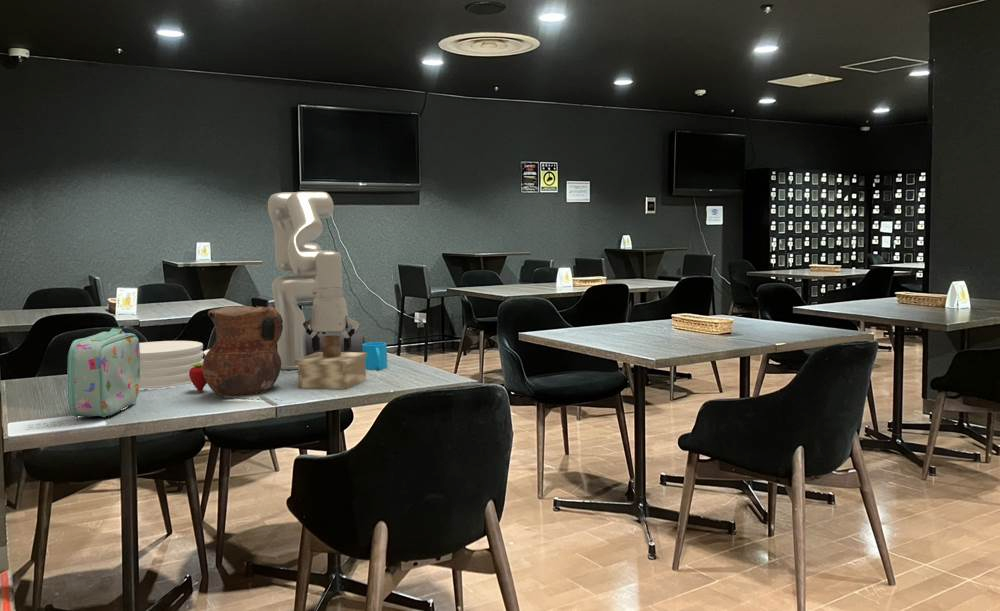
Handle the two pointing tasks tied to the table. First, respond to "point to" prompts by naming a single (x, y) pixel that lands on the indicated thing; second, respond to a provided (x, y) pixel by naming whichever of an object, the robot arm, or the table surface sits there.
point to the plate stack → (168, 362)
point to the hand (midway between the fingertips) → (331, 350)
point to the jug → (243, 351)
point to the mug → (375, 355)
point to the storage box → (331, 375)
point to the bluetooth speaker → (355, 343)
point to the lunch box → (103, 373)
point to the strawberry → (197, 376)
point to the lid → (331, 354)
